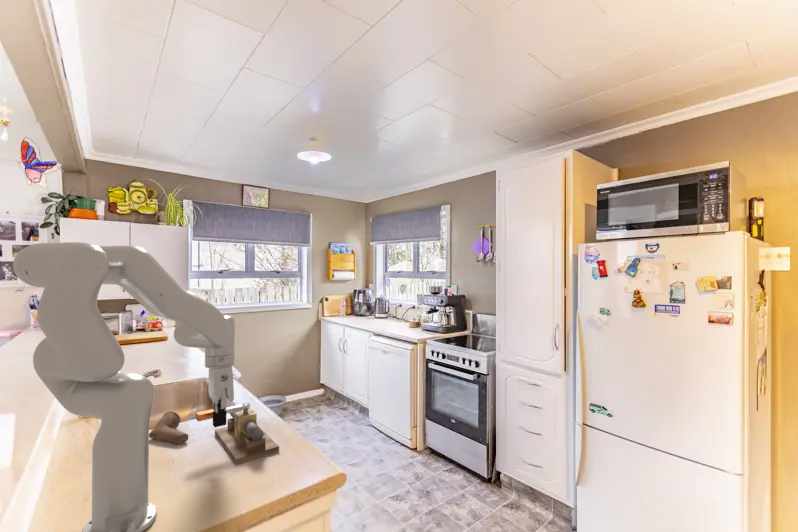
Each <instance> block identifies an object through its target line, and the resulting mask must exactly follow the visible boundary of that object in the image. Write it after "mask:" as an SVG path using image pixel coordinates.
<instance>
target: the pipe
mask: <svg viewBox="0 0 798 532" xmlns="http://www.w3.org/2000/svg"><path fill="white" fill-rule="evenodd" d="M180 423H181V417H180V415H179V414H178V413H177V412H175V411H167V412H165V413H163V415H162V417H161V418H160V419H159V420H158V421H157V422H156V423H155V425H154V427H153V428H152V430H151V431H150V432H149V438H150V439H153V440H157V441H161V442H162V441H163V442H165V443H166V442H167V443H170V444H173V445H178V446H181V445H183V444H185V443H186V442H187V441H188V440H189V434H187V433H186V432H183V431H181V430H179V429H177V428H178V427H179V425H180Z"/></svg>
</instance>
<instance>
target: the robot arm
mask: <svg viewBox="0 0 798 532" xmlns="http://www.w3.org/2000/svg"><path fill="white" fill-rule="evenodd" d="M12 262H13V263H12V268H13V269H12V270H13V272H14V274H15V275H16V277H17V278H18V279H19V280H20V281H21V282H23V283H25V284H26V285H28V286H30V287H35V288H43V291H42V294H41V297H40V300H39V302H38V304H37V305H38V306H37V312H36V314H37V315H36V316H37V321H38V325H39V327H40V329H41V332H43V334H44V336H45V338H43V339H42V340H40V342H39V343H38V344H37V346H36V348H35V350H34V352H33V355H32V364H33V369H34V371H35V373H36V374H37V376H38V378H40V380H41V382H42V383H43V384H44V385H45V386H46V387H47V389H48V390H49V392H51V394H52V395H53V397H54V398H55V399H56V400H57V401H58V403H59V404H60V405H61V407H63V408H64V409H65V410H67V411H68V413H71V414H73V415H75V416H78V417H84V418H91V419H97V420H100V421H101V422H100V426H99V428H98V430H97V432H96V434H95V437H94V438H93V443H92V449H91V463H92V465H91V467H92V468H91V519H90V520H89V521H88V522H87V523H86V524H85V526H83V528H82V530H81V532H144V531H146V529H148V528H150V526H151V525H152V524H153V523H154V521H155V520H156V518H157V514H158V512H157V507H156V505H155V504H153V503H152V502H149V467H150V466H149V463H150V462H149V461H150V459H149V455H150V454H149V453H150V452H149V450H150V448H149V447H150V444H149V442H150V441H149V440H150V439H149V438H150V437H149V434H150V424H151V423H150V421H151V415H152V410H153V406H154V402H155V398H156V397H155V395H156V394H155V392H156V389H155V387H154V384H153V382H152V381H151V380H150V379H149V378H147V377H146V376H144V375H142V374H139V373H134V372H127V371H126V372H125V371H122V369H123V367H124V365H125V357H126V356H125V353H124V350H123V347H122V346H121V345H120V343H119V341H118V340H117V337H116V336H115V334H114V333H113V331H112V330H111V329H110V327H109V325H108V324H107V322H106V321H105V319H104V317H103V315H102V313H101V311H100V309H99V306H98V297H99V294H100V290H101V287H102V285H117V286H118V287H120V288H122V289H123V290H124V291H126V292H127V293H128V294H129V295H130V296H131V297H132V298H133V299H134V300H135V301H137V302H138V303H139V304H140V305H141V306H142V307H143V308H144V309H146V311H148V312H149V313H151V314H152V315H155V316H157V317H160V318H162V319H165V320H169V321H173V322H177V323H178V324H177V325H176V326H175V328H174V330H173V339H174V341H175V342H176V343H177V344H178V345H180V346H182V347H186V348H197V349H198V348H199V349H200V348H201V349H204V367H205V368H206V369H208V379H207V380H208V381H207V382H208V386H207V387H208V389H207V390H208V397H209V398H210V399H211V401H212V409H213V418H212V426H213V427H214V428H218V427H222V426H226V425H227V414H226V408H227V407H228V406H227V402H228V401H230V402H233V401H234V400H235V393H234V392H235V391H234V373H233V366H234V365H235V342H236V341H235V338H236V337H235V336H236V335H235V333H236V332H235V327H236V326H235V323H236V322H235V321H236V320H235V319H234V317H233V316H231V315H226V314H225V315H224V314H223V313H222V312H221V310H219V309H218V308H217V307H216V306H215V305H213V304H212V303H210V302H208V301H207V300H205V299H203V298H202V297H199V296H198V295H196V294H195V293H193V292H191V291H189V290H187V289H185V288H183V287H182V286H181V285H180V284H179V283H177V281H176V280H175V279H174V278H173V277H172V276H171V274H169V273H168V271H167V270H166V269H165V268H164V267H163V266H162V265H161V264H160V262H158V261H157V259H155V257H154V256H153V255H152V254H151V253H150V252H149V251H147V250H146V249H144V248H143V247H141V246H140V247H139V246H136V245H99V246H98V245H95V244H92V243H88V242H87V243H86V242H79V241H77V242H76V241H75V242H74V241H73V242H71V241H70V242H40V243H34V244H31V245H28V246H25V247H24V248H22V249H21V250H19V252H17V253H16V255H15V257H14V259H13V261H12Z"/></svg>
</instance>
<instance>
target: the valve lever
mask: <svg viewBox="0 0 798 532" xmlns="http://www.w3.org/2000/svg"><path fill="white" fill-rule="evenodd" d="M247 409H248V410H249V409H251V404H250V403H249V402H245V403H242V404H241V403H240V404H237V405H232V406H226V415H228V414H230V413H232V412H237V411H241V410H242V411H243V410H247ZM195 419H196V421H197V422H202V421H207V420H211V419H212V420H213V408H211V409H207V410H201V411H197V412H195Z"/></svg>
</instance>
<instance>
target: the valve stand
mask: <svg viewBox="0 0 798 532" xmlns="http://www.w3.org/2000/svg"><path fill="white" fill-rule="evenodd" d="M229 415H230V416H231V417H232V418H228V419H227V426H224V427H220V428H216V429H214V435H215V437H216V436H217V437H216V439H217V440H218V441H219V443H220V444H221V445H222V447H223V448H224V449H225V451H226V452H227V454H228V455H229V456H230V458H231V459H232V460H233V461H232V462H234V463H235V465H239V464H242V463H245V462H249V461H252V460H256V459H259V458H263V457H265V455H266V456H268V454H269V455H272V454H276V453H279V452H280V445H278V444H277V443H276V442H275V441H274V440H273V439H272V438H271V437H270V436H269V435H268V434H267V433H266V432H265V431H264V430H263V429H262V428H261V427H260V426H259V425H258V422H257V413H256V412H255V411H254V410H253V409H252V408H249V409H247V410H241V411H237V412H232V413H229ZM278 451H279V452H278ZM275 452H276V453H275ZM262 456H263V457H262Z"/></svg>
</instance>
